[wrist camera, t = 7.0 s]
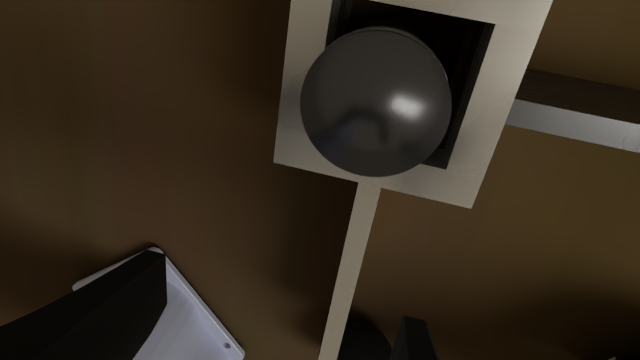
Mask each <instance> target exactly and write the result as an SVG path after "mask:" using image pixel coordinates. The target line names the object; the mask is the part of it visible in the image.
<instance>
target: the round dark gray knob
mask: <svg viewBox="0 0 640 360" xmlns="http://www.w3.org/2000/svg"><path fill="white" fill-rule="evenodd" d="M451 108H452V101H451V92H450V88H449V83H448V79H447V75H446V73H445V70H444V67H443V65H442V64H441V62H440V60H439V58H438V57H437V56H436V54H435V53H434V52H433V50H432V49H431V48H430V47H429V46H428V45H427V44H425V40H424V36H423V34H422V31H421V30H420V28H419V27H418V25H417V24H416V23H415V22H414V21H412V20H411V19H410V18H408V17H406V16H403V15H400V14H393V13H391V14H384V15H381V16H378V17H376V18H374V19H373V20H371V21H370V22H369V23H368V24H366V26H365V27H364V28H360V29H357V30H354V31H351V32H349V33H347V34H345V35H343V36H341V37H339V38H338V39H337V40H335V41H334V42H332V43H331V44H330V45H329V46H328V47H327V48H326V49H325V50H324V51H323V52H322V53H321V54H320V55H319V56H318V58H317V59H316V60H315V61H314V62H313V64H312V66H311V67H310V69H309V70H308V72H307V75H306V77H305V79H304V82H303V86H302V90H301V96H300V111H301V118H302V122H303V126H304V128H305V131H306V133H307V135H308V137H309V139H310V141H311V142H312V144H313V145H314V147H315V148H316V149H317V150H318V152H319V153H320V154H321V155H322V156H323V157H324V158H326V159H327V160H328V161H329V162H331V163H332V164H334V165H335V166H337V167H339V168H340V169H342V170H344V171H347V172H350V173H352V174H356V175H360V176H366V177H386V176H392V175H397V174H400V173H403V172H406V171H408V170H410V169H412V168H414V167H416V166H417V165H419V164H420V163H422V162H423V161H424V160H426V159H427V158H428V157H429V156H430V155H431V154H432V153H433V152H434V151H435V150H436V148H437V147H438V146H439V144H440V143H441V141H442V139H443V137H444V135H445V134H446V131H447V128H448V125H449V122H450V117H451Z"/></svg>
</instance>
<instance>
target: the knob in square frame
mask: <svg viewBox="0 0 640 360" xmlns="http://www.w3.org/2000/svg"><path fill="white" fill-rule="evenodd" d="M371 1H377V2H382V3H387V4H392V5H398V6H403V7H408V8H414V9H419V10H424V11H429V12H435V13H440V14H445V15H451V16H456V17H461V18H467V19H470V22H469V25H468V29H467V32H466V35H465V38H464V42H463V45H462V48H461V51H460V55H459V58H458V61H457V64H456V67H455V71H454V74H453V77H452V80H451V84H450V87H449V88H450V92H451V101H452V108H451V117H450V122H449V125H448V128H447V131H446V134H445V135H444V137H443V139H442V141H441V143H440V144H439V146H438V147H437V148H436V150H435V151H434V152H433V153H432V154H431V155H430V156H429V157H428V158H427V159H426V160H424V161H423V162H422V163H420V164H419V165H417V166H416V167H414V168H412V169H410V170H408V171H406V172H403V173H400V174H397V175H392V176H386V177H366V176H360V175H356V174H352V173H350V172H347V171H344V170H342V169H340V168H339V167H337V166H335V165H334V164H332V163H331V162H329V161H328V160H327V159H326V158H324V157H323V156H322V155H321V154H320V153H319V152H318V150H317V149H316V148H315V147H314V145H313V144H312V142H311V141H310V139H309V137H308V135H307V133H306V131H305V128H304V126H303V122H302V118H301V111H300V96H301V90H302V86H303V82H304V79H305V77H306V75H307V72H308V70H309V69H310V67H311V66H312V64H313V62H314V61H315V60H316V59H317V58H318V56H319V55H320V54H321V53H322V52H323V51H324V50H325V49H326V48H327V47H328V46H329V45H330V44H331V43H332V42H334V41H335V40H337V39H338V38H339V37H341V36H343V35H345V34H347V31H348V25H349V19H350V14H351V8H352V2H353V0H291V6H290V15H289V24H288V33H287V42H286V51H285V61H284V70H283V79H282V88H281V97H280V106H279V115H278V124H277V133H276V142H275V151H274V160H273V162H274V163H278V164H283V165H287V166H291V167H295V168H300V169H304V170H308V171H312V172H317V173H321V174H325V175H330V176H334V177H338V178H342V179H347V180H351V181H355V182H359V183H358V187H357V192H356V196H355V200H354V205H353V209H352V214H351V218H350V222H349V227H348V231H347V236H346V240H345V244H344V249H343V253H342V258H341V262H340V266H339V271H338V275H337V280H336V284H335V288H334V293H333V297H332V302H331V306H330V310H329V315H328V319H327V324H326V328H325V332H324V337H323V341H322V346H321V350H320V354H319V359H318V360H337V356H338V353H339V349H340V345H341V341H342V337H343V333H344V329H345V326H346V322H347V318H348V314H349V310H350V306H351V302H352V299H353V295H354V291H355V287H356V283H357V279H358V275H359V272H360V268H361V264H362V260H363V256H364V252H365V248H366V245H367V241H368V237H369V233H370V229H371V225H372V221H373V218H374V214H375V210H376V206H377V202H378V198H379V194H380V191H381V188H385V189H389V190H394V191H398V192H402V193H406V194H411V195H415V196H419V197H423V198H428V199H432V200H436V201H441V202H445V203H449V204H453V205H458V206H462V207H466V208H470V209H471V208H472V206H473V203H474V201H475V198H476V196H477V193H478V191H479V188H480V185H481V183H482V180H483V178H484V175H485V173H486V170H487V168H488V165H489V162H490V160H491V157H492V155H493V152H494V150H495V147H496V145H497V142H498V139H499V137H500V134H501V132H502V129H503V127H504V124H506V125H511V126H516V127H521V128H525V129H530V130H535V131H539V132H544V133H549V134H553V135H558V136H563V137H568V138H572V139H577V140H582V141H586V142H591V143H596V144H601V145H605V146H610V147H615V148H619V149H624V150H629V151H634V152H638V153H640V91H638V90H633V89H628V88H623V87H618V86H613V85H608V84H603V83H598V82H593V81H588V80H583V79H577V78H572V77H567V76H562V75H557V74H552V73H547V72H542V71H537V70H532V69H527V65H528V63H529V60H530V58H531V55H532V52H533V50H534V47H535V45H536V42H537V40H538V37H539V35H540V32H541V29H542V27H543V24H544V22H545V19H546V17H547V14H548V12H549V9H550V6H551V4H552V1H553V0H371Z"/></svg>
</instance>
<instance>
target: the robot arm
mask: <svg viewBox="0 0 640 360" xmlns="http://www.w3.org/2000/svg"><path fill="white" fill-rule="evenodd" d="M72 288H73V292H71V293H69V294H68V295H66V296H64V297H62V298H60V299H58V300H56V301H54V302H52V303H50V304H48V305H46V306H44V307H42V308H40V309H38V310H36V311H34V312H32V313H30V314H28V315H26V316H23V317H21V318H19V319H17V320H14V321H12V322H10V323H7V324H5V325H3V326H0V360H243V358H244V356H245V352H244V350H243V349H242V348H241V347H240V345H239V344H238V343H237V342H236V340H235V339H234V338H233V337H232V336H231V334H230V333H229V332H228V331H227V330H226V328H225V327H224V326H223V325H222V323H221V322H220V321H219V320H218V319H217V317H216V316H215V315H214V314H213V313H212V311H211V310H210V309H209V308H208V306H207V305H206V304H205V303H204V302H203V300H202V299H201V298H200V297H199V296H198V294H197V293H196V292H195V291H194V289H193V288H192V287H191V286H190V285H189V283H188V282H187V281H186V280H185V279H184V277H183V276H182V275H181V274H180V272H179V271H178V270H177V269H176V268H175V266H174V265H173V264H172V263H171V262H170V260H169V259H168V258H167V257H166V254H164V253H163V252H162V251H161V250H160V249H159V248H156V247H151V248H149V249H147V250H144V251H142V252H140V253H138V254H136V255H134V256H131V257H129V258H127V259H125V260H123V261H121V262H118V263H116V264H114V265H112V266H110V267H108V268H105V269H103V270H101V271H99V272H97V273H95V274H92V275H90V276H88V277H86V278H84V279H82V280H79V281H77V282H76V283H75V284H74V285H73V287H72ZM389 360H439V358H438V355H437V352H436V349H435V346H434V343H433V340H432V337H431V333H430V330H429V326H428V324H427V322H426V321H424V320H420V319H416V318H412V317H408V316H404V317H403V320H402V323H401V325H400V328H399V331H398V334H397V337H396V340H395V343H394V346H393V349H392V352H391V355H390V358H389Z"/></svg>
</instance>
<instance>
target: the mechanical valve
mask: <svg viewBox="0 0 640 360" xmlns="http://www.w3.org/2000/svg"><path fill="white" fill-rule="evenodd" d="M320 350H321V348H320ZM391 352H392V348H391V345H390V343H389V342H388V340H387V339H386V337H385V336H384V335H383V333H382V332H381V331H380V330H378V329H377V328H376V327H374V326H372V325H370V324H367V323H364V322H361V321H352V322H347V323H346V326H345V329H344V333H343V337H342V341H341V345H340V349H339V353H338V356H337V360H389V358H390V355H391ZM319 354H320V351H319ZM608 360H616V357H613V358H611V359H608Z"/></svg>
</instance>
